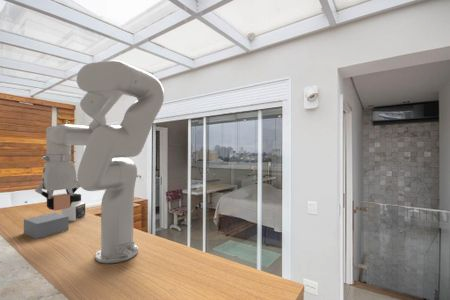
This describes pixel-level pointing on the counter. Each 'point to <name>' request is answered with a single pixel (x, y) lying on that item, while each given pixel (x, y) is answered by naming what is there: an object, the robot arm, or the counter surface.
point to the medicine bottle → (75, 209)
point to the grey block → (45, 225)
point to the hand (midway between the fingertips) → (59, 206)
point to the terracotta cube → (61, 201)
